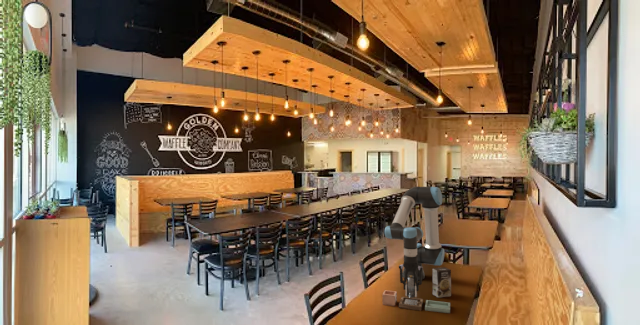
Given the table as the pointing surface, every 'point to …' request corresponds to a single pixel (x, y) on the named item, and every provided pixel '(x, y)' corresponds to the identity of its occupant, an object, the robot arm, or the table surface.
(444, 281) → the coffee box
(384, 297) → the pink open box
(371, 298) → the table surface
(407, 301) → the pale grey square tile
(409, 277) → the cell
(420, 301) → the base
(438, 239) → the robot arm
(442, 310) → the tray
